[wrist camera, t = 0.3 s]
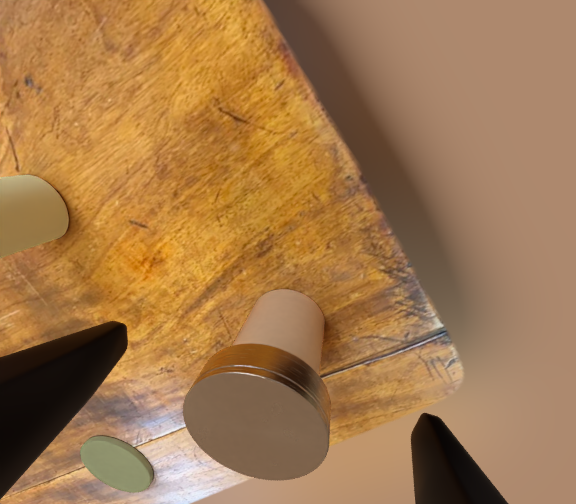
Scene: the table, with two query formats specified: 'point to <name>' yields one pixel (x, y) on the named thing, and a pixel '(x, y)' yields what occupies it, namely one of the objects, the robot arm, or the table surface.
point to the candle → (29, 213)
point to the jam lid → (260, 412)
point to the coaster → (116, 464)
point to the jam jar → (286, 325)
